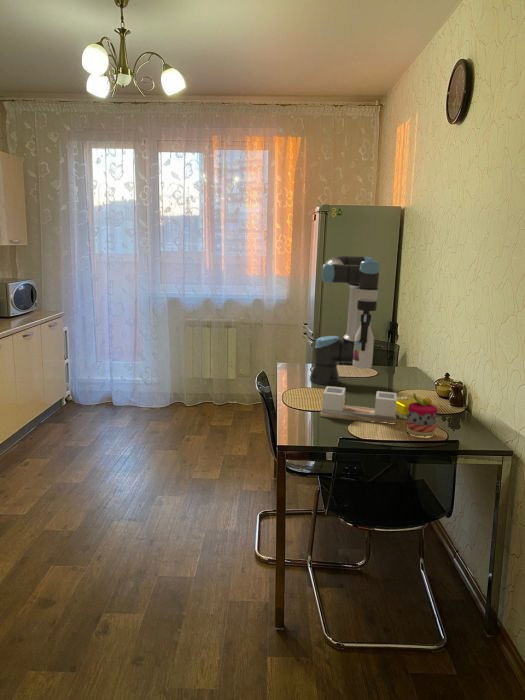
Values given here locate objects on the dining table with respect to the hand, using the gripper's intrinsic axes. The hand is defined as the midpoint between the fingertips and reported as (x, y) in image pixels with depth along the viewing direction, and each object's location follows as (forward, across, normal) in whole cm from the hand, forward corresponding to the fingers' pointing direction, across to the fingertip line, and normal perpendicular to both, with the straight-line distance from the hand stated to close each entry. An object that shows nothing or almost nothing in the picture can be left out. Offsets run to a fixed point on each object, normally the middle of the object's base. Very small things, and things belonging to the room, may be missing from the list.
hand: (363, 356), depth 214 cm
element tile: (+25, -18, +21) cm, 38 cm away
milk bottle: (+4, 0, 0) cm, 4 cm away
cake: (+25, +15, +24) cm, 38 cm away
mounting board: (+25, 0, 0) cm, 25 cm away
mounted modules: (+23, 0, 0) cm, 23 cm away
